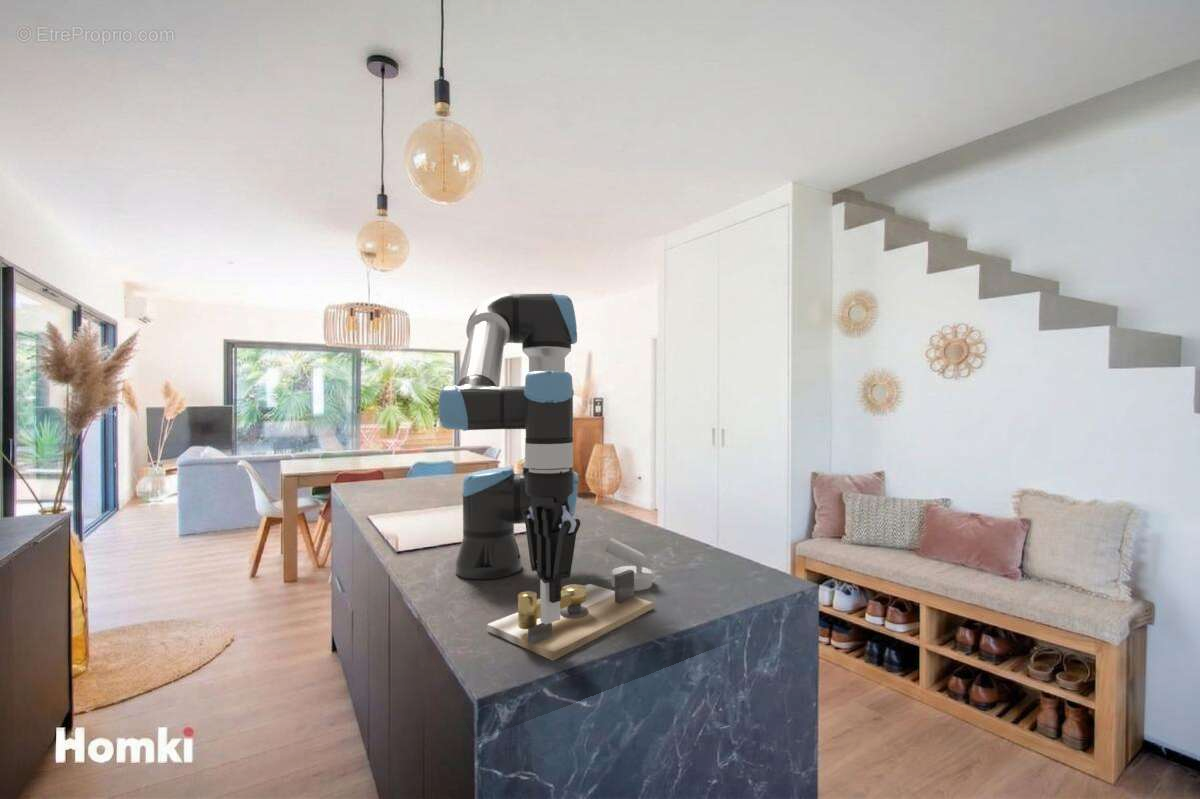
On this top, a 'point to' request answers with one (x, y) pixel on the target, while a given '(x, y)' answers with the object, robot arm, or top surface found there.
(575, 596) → the latch lever
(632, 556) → the wall hook
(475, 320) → the robot arm
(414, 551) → the top surface
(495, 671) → the top surface
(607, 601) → the door plate
